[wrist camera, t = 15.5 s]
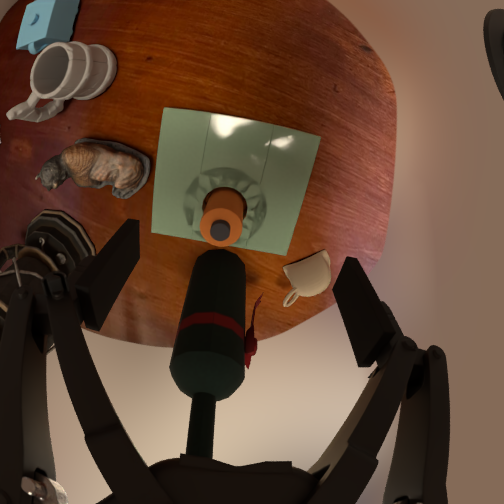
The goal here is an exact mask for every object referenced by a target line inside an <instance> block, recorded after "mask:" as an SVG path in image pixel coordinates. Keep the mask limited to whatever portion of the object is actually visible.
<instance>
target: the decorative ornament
mask: <svg viewBox="0 0 504 504" xmlns="http://www.w3.org/2000/svg"><path fill="white" fill-rule="evenodd" d="M283 270H284V272H285V274H286V276H287V278H288V279H289V280H290V282H291V285H292V287H293V289H292V290H291V291H290V292H289V293H288V294H287V296H286V297H285V299H284V301H283V306H284V307H288V306H290V305H291V304H292V303H293V302H295V300H296V299H297V298H298V297H299V295H302V296H307V297H310V296H315V295H316V294H318V293H319V294H320V293H321V292H322V291H324V290H325V289H326V288H328V285H329V283H331V282H330V280H331V270H330V258H329V256H328V254H327V252H326V250H323V251H321V252H319V253H317V254H315V255H313V256H311V257H309V258H307V259H305V260H302V261H300V262H297V263H294V264H290V265H286V266H284V267H283ZM295 292H296V294H295V295H294V297H293V298H292V299H291V300H290V301H289V302H288V303H287V301H288V299H289V298H290V297H291V296H292V295H293V294H294V293H295Z"/></svg>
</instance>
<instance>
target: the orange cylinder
mask: <svg viewBox="0 0 504 504" xmlns="http://www.w3.org/2000/svg"><path fill="white" fill-rule="evenodd" d="M242 224H243V196H242V194H241V193H240V192H239V191H237V190H236V189H234V188H230V187H225V186H224V187H219V188H215V189H214V190H213V191H212V193H211V195H210V197H209V200H208V202H207V205H206V208H205V210H204V213H203V216H202V218H201V221H200V232H201V234H202V236H203V238H204V239H205V240H206V241H207V242H209V243H210V244H212V245H215V246H220V247H223V246H229V245H231V244H233V243H235V242H236V241H237V240H238V239H239V237H240V236H241V233H242Z"/></svg>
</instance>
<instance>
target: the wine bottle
mask: <svg viewBox="0 0 504 504" xmlns="http://www.w3.org/2000/svg"><path fill="white" fill-rule="evenodd" d="M263 293H264V292H263ZM262 295H263V294H262ZM262 295H261V296H260V297H259V298H258V300H257V301H256V303H255V306H254V310H253V315H252V321H251V327H250V328H249V329H248V330H247V331H246V336H245V300H246V272H245V264H244V263H243V262H242V261H241V259H240V258H239V257H238V256H237V255H236V254H234V253H231V252H229V251H227V250H224V249H218V250H208V251H207V252H205V253H204V254H202V255H201V256H199V257H198V258H197V260H196V263H195V265H194V267H193V271H192V275H191V278H190V282H189V286H188V290H187V294H186V298H185V302H184V306H183V310H182V314H181V318H180V322H179V326H178V331H177V335H176V339H175V344H174V348H173V353H172V357H171V362H170V366H169V368H170V372H171V375H172V377H173V379H174V381H175V383H176V385H177V386H178V388H179V389H180V391H182V392H183V393H184V394H186V395H187V396H189V397H191V398H192V404H191V413H190V421H189V429H188V438H187V447H186V454H187V455H194V456H201V457H208V458H211V459H212V457H213V439H214V422H215V408H216V401H220V400H223V399H226V398H228V397H229V396H231V395H232V394H233V393H234V392H235V391H236V390H237V388H238V387H239V386H240V385H241V383H242V382H243V380H244V378H245V365H246V367H247V368H248V369H249V365H250V361H251V356H253V355H255V354H256V351H257V339H256V338H254V325H253V323H254V315H255V309H256V308H257V306H258V305H259V303H260V302H261V301H260V299H261V297H262Z"/></svg>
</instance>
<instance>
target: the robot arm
mask: <svg viewBox="0 0 504 504" xmlns="http://www.w3.org/2000/svg"><path fill="white" fill-rule="evenodd" d="M502 48H503V55H504V33H503V36H502ZM139 259H140V245H139V220H135V219H127V220H126V222H125V223H124V224H123V225H122V226H121V227H120V228H119V229H118V231H117V232H116V233H115V234H114V235H113V236H112V238H111V239H110V240H109V241H108V242H107V243H106V245H105V246H104V247H103V248H102V249H101V251H100V252H99V253H98V254H97V256H94V255H88V256H87V257H85V258H84V259H82V260H81V262H80V263H79V264H78V266H76V268H75V269H74V271H72V273H71V274H70V275H69V276H68V278H67V276H66V274H65V273H63V272H62V271H52V272H50V273H48V274H46V275H45V276H44V277H43V278H42V281H41V284H42V288H43V291H44V294H34V291H33V289H32V287H30V286H28V285H23V286H20V287H18V288H16V289H15V290H14V291H13V293H12V295H11V298H10V302H9V306H8V310H7V314H6V318H5V322H4V327H3V332H2V337H1V342H0V504H68V499H67V495H66V493H65V490H64V489H63V488H62V486H61V485H60V484H58V483H57V482H56V472H55V464H54V457H53V452H52V445H51V438H50V431H49V422H48V410H47V391H46V355H47V337H48V335H53V340H54V344H55V348H56V352H57V356H58V360H59V364H60V367H61V371H62V374H63V377H64V381H65V384H66V387H67V390H68V393H69V396H70V398H71V401H72V404H73V407H74V409H75V412H76V415H77V417H78V419H79V422H80V424H81V427H82V429H83V431H84V434H85V441H86V444H87V446H88V449H89V451H90V452H91V455H92V457H93V459H94V461H95V463H96V464H97V466H98V468H99V470H100V472H101V473H102V475H103V477H104V479H105V480H106V482H107V484H108V485H109V487H110V489H111V491H112V492H113V493H112V494H110V495H109V496H107V497H106V498H104V499H103V500H101V501H100V502H98V503H96V504H355V503H356V502H357V500H358V499H359V497H360V495H361V494H362V492H363V490H364V489H365V487H366V485H367V484H368V482H369V480H370V479H371V477H372V475H373V473H374V471H375V469H376V467H377V465H378V460H377V459H376V456H377V453H378V452H379V450H380V448H381V446H382V443H383V442H384V440H385V437H386V435H387V433H388V431H389V429H390V426H391V424H392V422H393V420H394V417H395V415H396V413H397V410H398V407H399V405H400V403H401V408H400V416H399V424H398V431H397V437H396V442H395V448H394V453H393V458H392V463H391V468H390V471H389V476H388V480H387V484H386V487H385V492H384V497H383V504H448V499H447V490H446V477H447V469H448V468H447V467H448V457H449V441H450V403H449V402H450V401H449V383H448V373H447V362H446V356H445V353H444V352H443V350H442V349H441V348H440V347H438V346H435V345H432V346H430V347H429V348H428V349H427V351H425V350H422V349H418V347H417V345H416V343H415V342H414V341H413V340H412V339H411V338H409V337H407V336H404V335H403V333H402V331H401V329H400V327H399V325H398V323H397V321H396V320H395V317H394V316H393V313H392V311H391V310H390V308H389V307H388V306H387V304H386V303H385V302H383V301H380V299H379V297H378V296H377V294H376V292H375V290H374V288H373V287H372V284H371V283H370V281H369V279H368V277H367V275H366V274H365V272H364V270H363V268H362V266H361V265H360V263H359V261H358V259H357V258H353V257H348V256H347V257H346V259H345V262H344V264H343V266H342V269H341V271H340V273H339V275H338V278H337V280H336V282H335V284H334V287H333V289H332V291H333V293H334V296H335V299H336V302H337V304H338V307H339V310H340V313H341V316H342V318H343V322H344V325H345V327H346V330H347V333H348V336H349V339H350V342H351V345H352V349H353V352H354V355H355V358H356V361H357V364H358V367H371V365H372V364H373V363H374V362H375V360H376V362H377V365H378V366H377V367H376V369H375V370H374V371H373V372H372V373H371V374H370V376H369V377H368V378H370V379H369V381H368V383H367V385H366V387H365V388H364V390H363V392H362V394H361V396H360V397H359V399H358V401H357V403H356V404H355V406H354V408H353V409H352V411H351V413H350V414H349V416H348V418H347V419H346V421H345V422H344V424H343V425H342V427H341V428H340V430H339V431H338V433H337V434H336V436H335V437H334V439H333V440H332V442H331V443H330V445H329V446H328V448H327V449H326V450H325V452H324V453H323V454H322V456H321V457H320V458H319V460H318V461H317V462H316V463H315V464H314V465H313V466H312V467H311V468H310V469H309V470H308V471H307V472H306V471H304V470H302V469H299V468H296V467H292V461H276V462H274V461H272V462H271V461H265V462H261V463H256V464H250V465H245V466H233V465H230V464H226V463H223V462H220V461H217V460H214V459H211V458H208V457H201V456H194V455H187V454H180V458H172V459H166V460H163V461H160V462H157V463H155V464H153V465H151V466H149V467H148V466H147V465H146V463H145V461H144V460H143V458H142V457H141V455H140V454H139V452H138V451H137V449H136V447H135V446H134V444H133V442H132V441H131V439H130V437H129V435H128V434H127V432H126V430H125V428H124V427H123V425H122V423H121V421H120V419H119V417H118V416H117V413H116V412H115V409H114V408H113V406H112V403H111V402H110V399H109V397H108V395H107V393H106V391H105V388H104V386H103V384H102V382H101V379H100V377H99V375H98V372H97V370H96V367H95V365H94V363H93V360H92V357H91V355H90V352H89V349H88V347H87V344H86V341H85V338H84V335H83V333H82V329H81V326H80V325H81V324H82V322H83V320H84V322H85V325H86V328H89V329H92V330H95V331H100V329H101V327H102V325H103V323H104V321H105V319H106V317H107V315H108V313H109V312H110V310H111V308H112V306H113V304H114V302H115V300H116V299H117V297H118V295H119V293H120V291H121V290H122V288H123V286H124V284H125V282H126V281H127V279H128V277H129V276H130V274H131V272H132V270H133V269H134V267H135V265H136V264H137V262H138V260H139Z"/></svg>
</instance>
